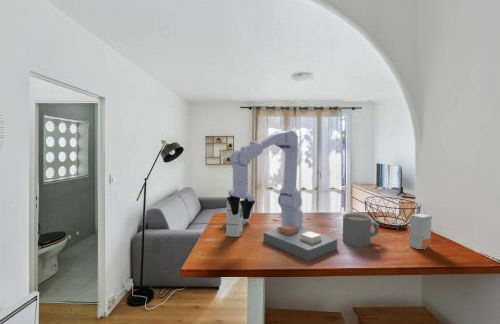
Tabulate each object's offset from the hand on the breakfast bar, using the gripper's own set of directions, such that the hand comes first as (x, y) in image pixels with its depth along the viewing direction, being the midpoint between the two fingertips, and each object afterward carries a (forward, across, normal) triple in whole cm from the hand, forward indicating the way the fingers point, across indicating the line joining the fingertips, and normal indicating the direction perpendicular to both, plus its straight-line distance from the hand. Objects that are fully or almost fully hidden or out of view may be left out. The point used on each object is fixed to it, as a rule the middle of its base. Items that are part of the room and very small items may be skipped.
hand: (240, 216), depth 97 cm
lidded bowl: (+10, -22, +14) cm, 28 cm away
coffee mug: (+10, +28, +38) cm, 48 cm away
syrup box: (+10, -8, +2) cm, 13 cm away
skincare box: (+10, +43, +50) cm, 67 cm away
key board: (+10, +15, +16) cm, 24 cm away
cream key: (+9, +21, +16) cm, 28 cm away
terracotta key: (+9, +10, +16) cm, 21 cm away
